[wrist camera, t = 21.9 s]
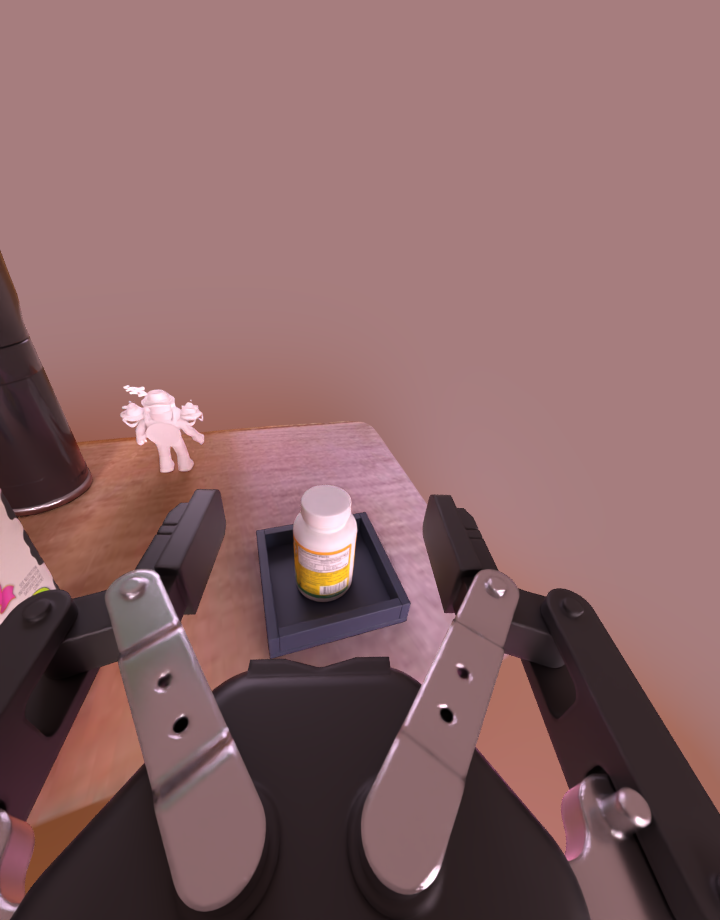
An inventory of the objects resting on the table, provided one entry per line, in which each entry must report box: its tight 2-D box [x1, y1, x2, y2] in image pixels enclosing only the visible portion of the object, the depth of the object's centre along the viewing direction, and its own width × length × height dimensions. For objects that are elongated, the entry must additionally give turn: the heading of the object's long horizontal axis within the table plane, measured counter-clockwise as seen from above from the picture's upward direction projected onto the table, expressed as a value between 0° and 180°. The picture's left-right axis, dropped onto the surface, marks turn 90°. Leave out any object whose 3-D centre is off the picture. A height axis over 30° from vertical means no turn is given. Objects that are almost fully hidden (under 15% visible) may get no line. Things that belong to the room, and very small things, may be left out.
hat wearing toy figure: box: [120, 385, 204, 473], centre depth 43 cm, size 9×4×12 cm, turn 99°
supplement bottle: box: [293, 485, 357, 602], centre depth 30 cm, size 5×5×10 cm
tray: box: [256, 512, 411, 659], centre depth 32 cm, size 12×12×3 cm
